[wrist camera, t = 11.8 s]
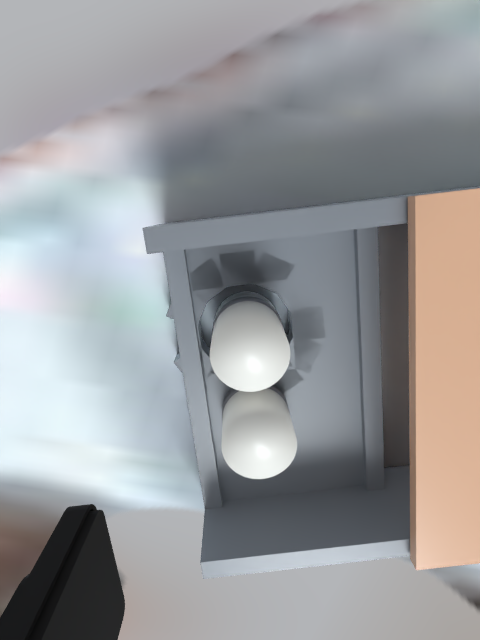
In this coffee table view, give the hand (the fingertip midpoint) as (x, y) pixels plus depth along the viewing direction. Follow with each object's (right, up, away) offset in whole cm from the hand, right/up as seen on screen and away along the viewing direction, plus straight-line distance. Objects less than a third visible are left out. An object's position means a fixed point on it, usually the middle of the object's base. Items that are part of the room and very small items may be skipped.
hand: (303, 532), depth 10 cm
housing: (+6, +2, +18) cm, 19 cm away
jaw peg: (-1, +5, +17) cm, 18 cm away
